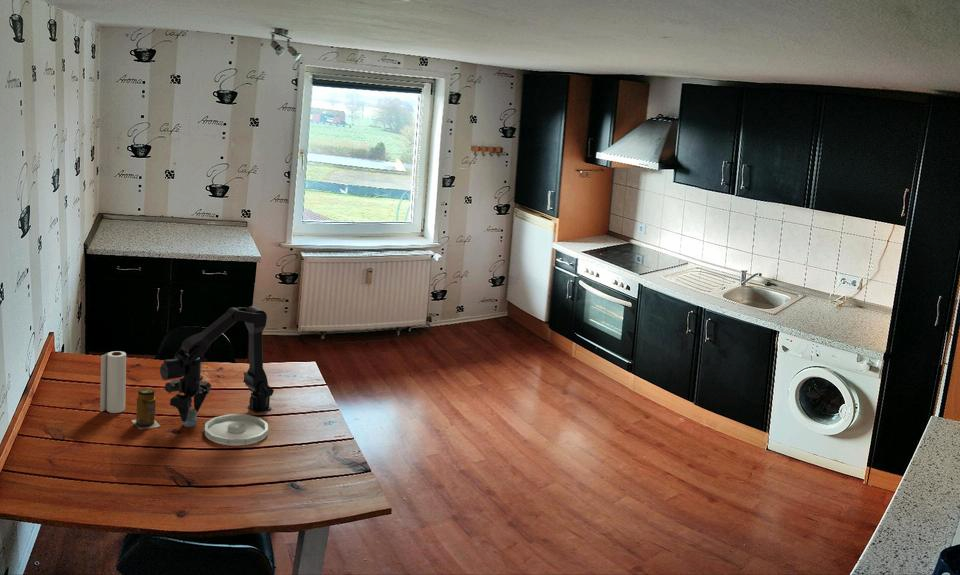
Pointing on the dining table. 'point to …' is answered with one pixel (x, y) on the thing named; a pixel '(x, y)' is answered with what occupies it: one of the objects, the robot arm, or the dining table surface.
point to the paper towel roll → (113, 382)
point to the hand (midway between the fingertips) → (190, 416)
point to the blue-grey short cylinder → (191, 419)
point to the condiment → (145, 409)
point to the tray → (224, 433)
